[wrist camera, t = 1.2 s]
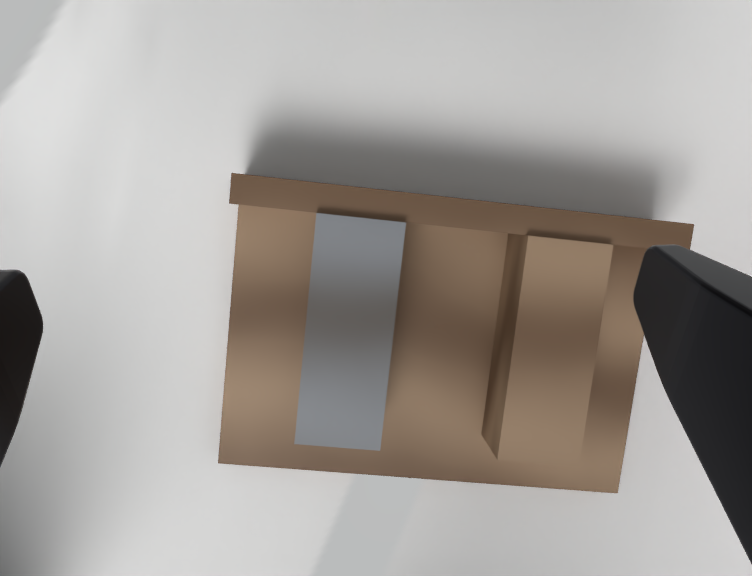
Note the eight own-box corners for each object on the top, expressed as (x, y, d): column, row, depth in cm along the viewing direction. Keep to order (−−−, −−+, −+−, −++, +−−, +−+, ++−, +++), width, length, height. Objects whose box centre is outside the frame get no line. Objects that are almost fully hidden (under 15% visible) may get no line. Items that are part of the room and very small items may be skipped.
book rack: (609, 484, 27) (647, 524, 24) (221, 454, 26) (205, 492, 22) (651, 221, 25) (698, 224, 22) (243, 176, 24) (230, 172, 21)
